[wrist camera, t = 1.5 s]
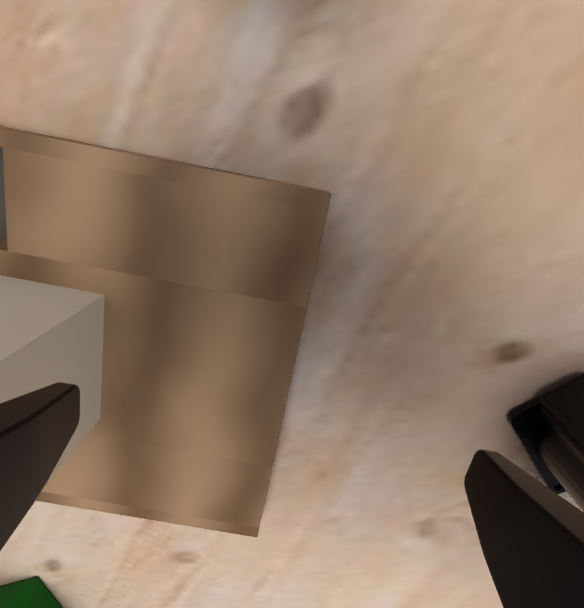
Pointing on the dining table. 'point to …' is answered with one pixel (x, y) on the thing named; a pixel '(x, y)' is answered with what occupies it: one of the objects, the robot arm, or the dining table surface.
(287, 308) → the tray
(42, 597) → the milk carton
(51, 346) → the cream block
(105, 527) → the dining table surface
